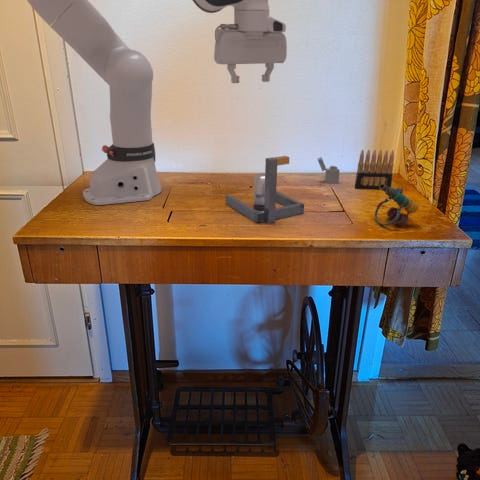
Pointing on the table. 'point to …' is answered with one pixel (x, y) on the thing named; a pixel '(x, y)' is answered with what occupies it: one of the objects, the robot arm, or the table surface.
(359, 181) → the ammunition clip
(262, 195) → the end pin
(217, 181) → the table surface
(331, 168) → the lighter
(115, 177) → the robot arm
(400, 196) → the binoculars
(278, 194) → the grey metal bar frame
